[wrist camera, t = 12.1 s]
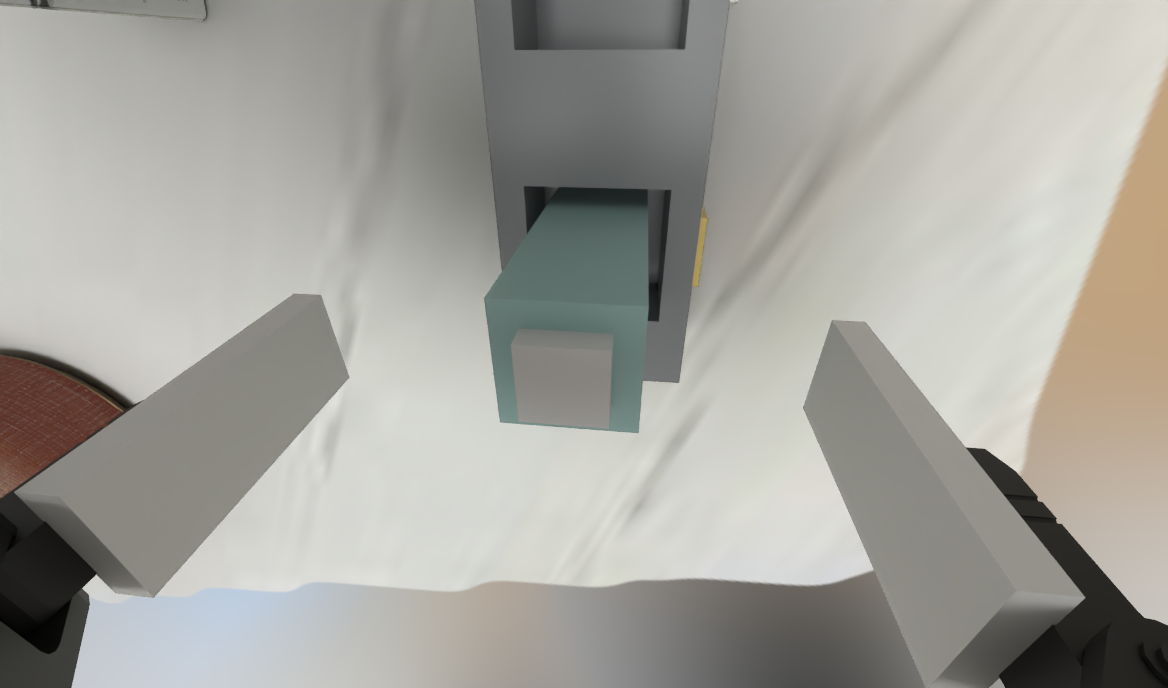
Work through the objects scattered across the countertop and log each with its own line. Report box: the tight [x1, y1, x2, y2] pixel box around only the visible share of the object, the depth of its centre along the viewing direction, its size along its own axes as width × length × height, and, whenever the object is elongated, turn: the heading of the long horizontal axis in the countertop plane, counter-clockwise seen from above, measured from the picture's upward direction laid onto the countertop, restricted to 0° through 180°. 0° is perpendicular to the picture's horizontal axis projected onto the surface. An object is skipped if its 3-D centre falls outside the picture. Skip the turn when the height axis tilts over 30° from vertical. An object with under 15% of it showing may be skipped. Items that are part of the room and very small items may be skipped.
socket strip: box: [474, 0, 738, 383], centre depth 19 cm, size 22×8×6 cm, turn 0°
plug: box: [484, 187, 649, 433], centre depth 17 cm, size 4×4×13 cm
